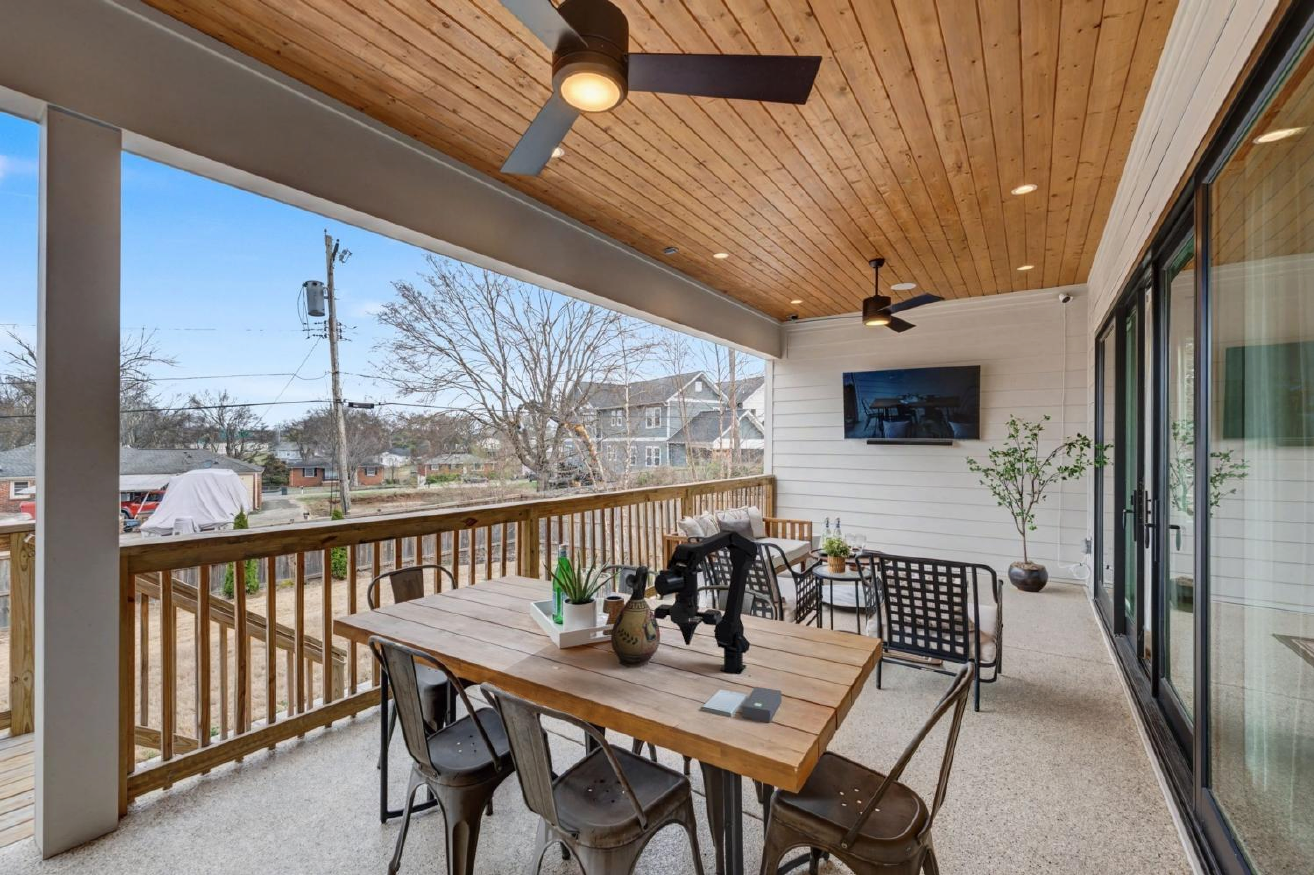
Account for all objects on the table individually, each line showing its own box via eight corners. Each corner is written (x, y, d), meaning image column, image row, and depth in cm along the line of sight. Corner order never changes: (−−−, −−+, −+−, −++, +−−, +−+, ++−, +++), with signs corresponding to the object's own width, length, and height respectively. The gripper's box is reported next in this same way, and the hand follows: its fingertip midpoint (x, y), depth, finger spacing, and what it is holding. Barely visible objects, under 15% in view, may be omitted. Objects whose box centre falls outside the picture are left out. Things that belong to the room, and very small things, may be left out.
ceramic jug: (649, 674, 177) (649, 574, 177) (603, 667, 182) (602, 570, 183) (668, 655, 193) (668, 563, 193) (625, 650, 198) (624, 560, 199)
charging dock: (750, 696, 161) (750, 685, 161) (781, 702, 157) (781, 690, 157) (736, 716, 149) (736, 704, 149) (770, 723, 145) (769, 710, 145)
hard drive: (731, 712, 149) (747, 694, 160) (701, 706, 152) (718, 688, 164) (731, 719, 149) (747, 700, 160) (701, 712, 152) (718, 694, 164)
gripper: (645, 593, 164) (646, 649, 164) (709, 599, 157) (710, 658, 156) (661, 584, 174) (662, 637, 174) (722, 590, 167) (722, 645, 167)
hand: (687, 644), depth 168 cm, fingers closed
